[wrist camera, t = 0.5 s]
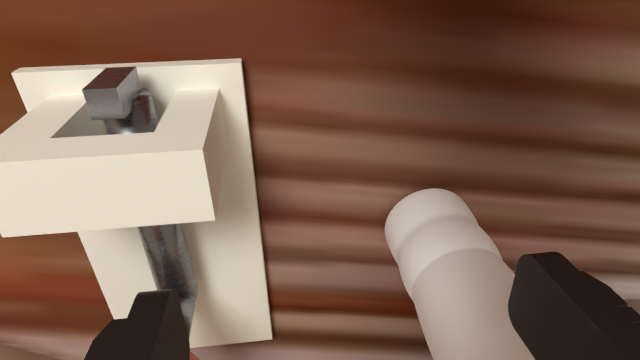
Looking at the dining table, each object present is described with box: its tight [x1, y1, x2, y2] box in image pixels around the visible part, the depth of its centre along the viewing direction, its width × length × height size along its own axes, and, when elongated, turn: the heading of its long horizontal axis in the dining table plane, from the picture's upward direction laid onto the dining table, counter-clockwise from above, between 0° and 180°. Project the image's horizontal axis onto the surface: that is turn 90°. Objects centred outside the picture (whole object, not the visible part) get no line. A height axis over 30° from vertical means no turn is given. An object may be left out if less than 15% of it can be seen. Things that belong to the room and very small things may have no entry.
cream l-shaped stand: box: [0, 58, 272, 348], centre depth 28 cm, size 26×13×9 cm, turn 1°
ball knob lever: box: [82, 66, 199, 360], centre depth 24 cm, size 20×5×10 cm, turn 1°
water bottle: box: [385, 188, 535, 360], centre depth 24 cm, size 7×7×25 cm
